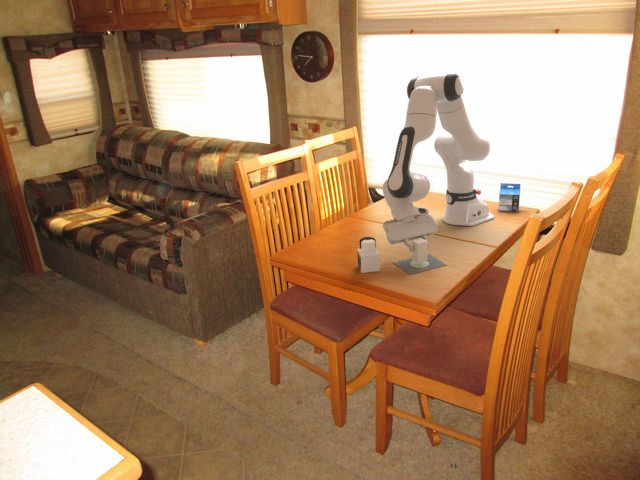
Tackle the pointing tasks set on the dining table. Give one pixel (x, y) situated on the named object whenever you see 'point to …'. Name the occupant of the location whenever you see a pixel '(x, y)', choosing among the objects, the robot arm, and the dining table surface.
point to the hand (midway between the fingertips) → (419, 249)
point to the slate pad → (419, 265)
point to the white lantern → (368, 255)
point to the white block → (419, 250)
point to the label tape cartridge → (509, 197)
